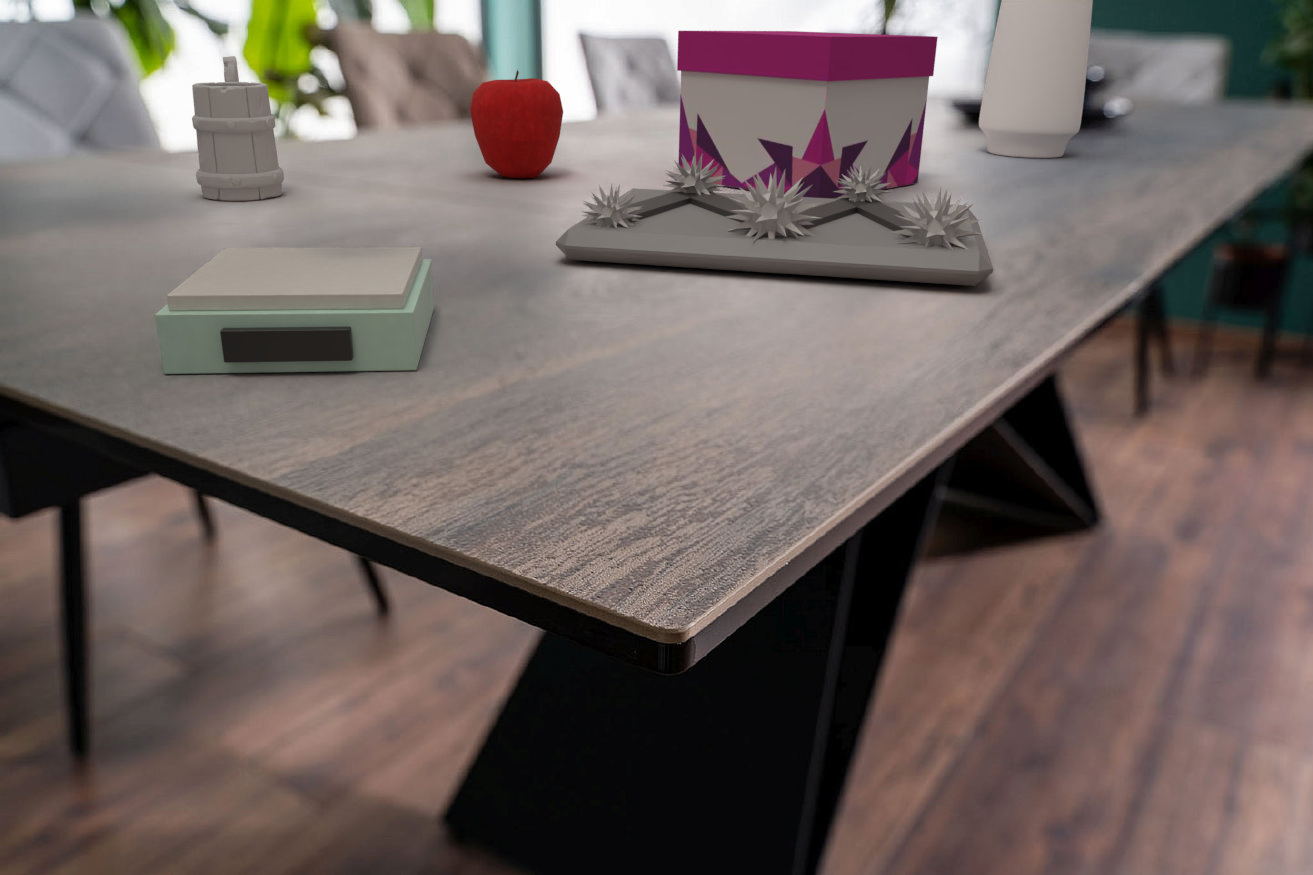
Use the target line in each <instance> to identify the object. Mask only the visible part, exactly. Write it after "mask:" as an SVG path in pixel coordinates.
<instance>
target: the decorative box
mask: <svg viewBox="0 0 1313 875" xmlns="http://www.w3.org/2000/svg"><path fill="white" fill-rule="evenodd" d="M938 38H939V37H938V36H932V35H930V36H929V35H905V34H878V33H875V34H874V33H851V32H850V33H848V32H823V31H797V30H796V31H795V30H678V31H677V61H676V62H677V63H676V64H677V66H676V71H678V72H679V71H680V93H679V94H680V95H679V96H680V99H679V130H678V131H679V132H678V139H679V140H678V162H677V163H678V164H679V165H680V166H681V167H682V168H683V169H684V167H683V163H682V159H683V156H684V158H685V159H686V161H687V163H688V164H689V166H690V168H691V166H692V161H693V157H694V155H695V153H696V165H698V162H699V159H700V156H701V155H702V167H701V171H702V170H703V169H704V168H705V167H706V166H707V165H708V164H709V163H710V162H711V161H712V160H713V159H714V160H713V162H712V165H711V166H710V168H709V169H708V171H710V170H711V169H713V168H714V167H715V166H717V165H718V164H719V165H718V166H717V169H716V170H715V171H714V173H713V174H712V175H711V176H710V177H718V176H725V177H722V178H724V179H722V180H720V181H718V182H715V183H713V184H719V185H724V186H723V187H727V188H728V187H729V188H735V189H740V188H742V189H743V190H746V191H749V188H748V186H747V184H746V182H745V180H746V181H747V182H748V183H749V184H750V185H751V186H752V187H753V188H755V189H756V185H755V181H754V178H753V175H754V176H755V178H756V179H757V174H756V171H757V173H758V174H759V176H760V178H761V179H762V181H763V183H764V184H765V186H766V188H767V189H768V186H769V180H770V174H771V176H772V180H773V176H774V172H775V168H776V182H777V188H778V186H779V183H780V181H781V178H782V175H783V173H784V170H785V185H784V194H785V193H786V192H787V191H788V190H789V189H791V188H792V187H793V186H794V185H795V184H796V183H797V182H798V181H799V180H800V179H801V178H802V177H803V178H802V180H801V181H800V183H799V185H798V187H799V186H800V185H801V184H803V185H802V186H801V188H800V189H799V190H798V192H797V193H796V194H795V196H796V195H797V194H799V193H800V192H802V191H803V190H805V189H806V188H808V187H809V186H811V185H812V184H813V185H812V186H811V187H810V188H809V189H808V191H807V192H806V193H805V194H804V195H803V197H811V198H831V199H837V198H838V197H840V196H842V195H845V194H843V193H838V192H833V191H838V190H843V189H841V188H839V187H845V186H843V185H842V184H840V183H839V182H837V181H841V180H840V179H843V180H846V179H845V178H844V177H843V175H844V176H846V177H848V178H850V176H849V174H848V171H849V172H850V173H851V174H852V172H851V169H850V167H851V168H852V170H853V171H854V167H853V165H854V166H855V168H856V170H857V172H858V173H859V171H860V166H861V170H863V167H864V163H865V173H866V170H867V168H868V166H869V169H870V167H871V171H870V177H871V176H872V175H873V174H874V173H875V172H876V171H877V170H878V169H879V168H880V169H879V171H878V172H877V174H878V173H880V172H881V171H882V172H881V173H880V174H879V176H881V175H883V174H884V173H885V174H884V175H883V177H882V178H881V179H880V180H879V181H882V182H881V183H879V184H885V183H890V184H888V185H887V186H885V187H883V188H881V189H879V190H887V189H893V188H898V187H903V186H909V185H915V184H918V183H919V175H920V174H919V173H920V165H921V158H922V157H921V156H922V146H923V137H924V129H925V119H926V111H927V101H928V92H929V82H930V77H934V74H935V73H934V72H935V64H936V56H937V55H936V54H937V48H938V47H937V45H938ZM682 154H683V156H682ZM681 157H682V159H681ZM869 163H870V165H869ZM755 169H756V170H755ZM847 170H848V171H847ZM708 171H707V172H708ZM752 173H753V174H752ZM854 173H855V172H854ZM877 174H876V175H877ZM879 176H878V177H879ZM878 177H877V178H878ZM839 178H840V179H839ZM720 179H721V178H720ZM744 179H745V180H744ZM836 180H837V181H836ZM757 181H758V179H757ZM846 181H847V180H846ZM879 181H878V182H879ZM841 182H843V181H841ZM739 187H740V188H739ZM756 190H757V189H756Z"/></svg>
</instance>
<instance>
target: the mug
mask: <svg viewBox="0 0 1313 875" xmlns="http://www.w3.org/2000/svg"><path fill="white" fill-rule="evenodd" d="M222 61H223V79H224V81H218V82H213V81H211V82H197V83H193V84H192V86H191V89H192V99H193V110H194V112H193V113H194V115H192V117H191V121H192V126H193V129H194V130H195V133H196V144H197V154H198V164H199V165H198V166H199V168H198V169H197V170H196V174H195V178H196V183H197V184H198V185H199V186H200V188H201V194H202V197H204V198H205V199H209V200H215V201H217V200H219V201H223V202H225V201H227V202H229V201H231V202H242V201H246V202H247V201H259V200H265V199H270V198H271V199H272V198H276V197H279V196H282V194H283V186H282V183H283V182H284V180H285V173H284V169H283V168H282V167H281V166H280V165H279V157H278V153H277V152H278V150H277V143H276V137H275V130H274V129H275V128H276V118H275V116H274V115H273V114H272V110H271V103H270V96H269V90H268V84H266V83H263V82H249V81H240V77H239V69H238V60H237V57H236V56H235V55H232V56H231V55H229V56H223V57H222Z"/></svg>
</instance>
